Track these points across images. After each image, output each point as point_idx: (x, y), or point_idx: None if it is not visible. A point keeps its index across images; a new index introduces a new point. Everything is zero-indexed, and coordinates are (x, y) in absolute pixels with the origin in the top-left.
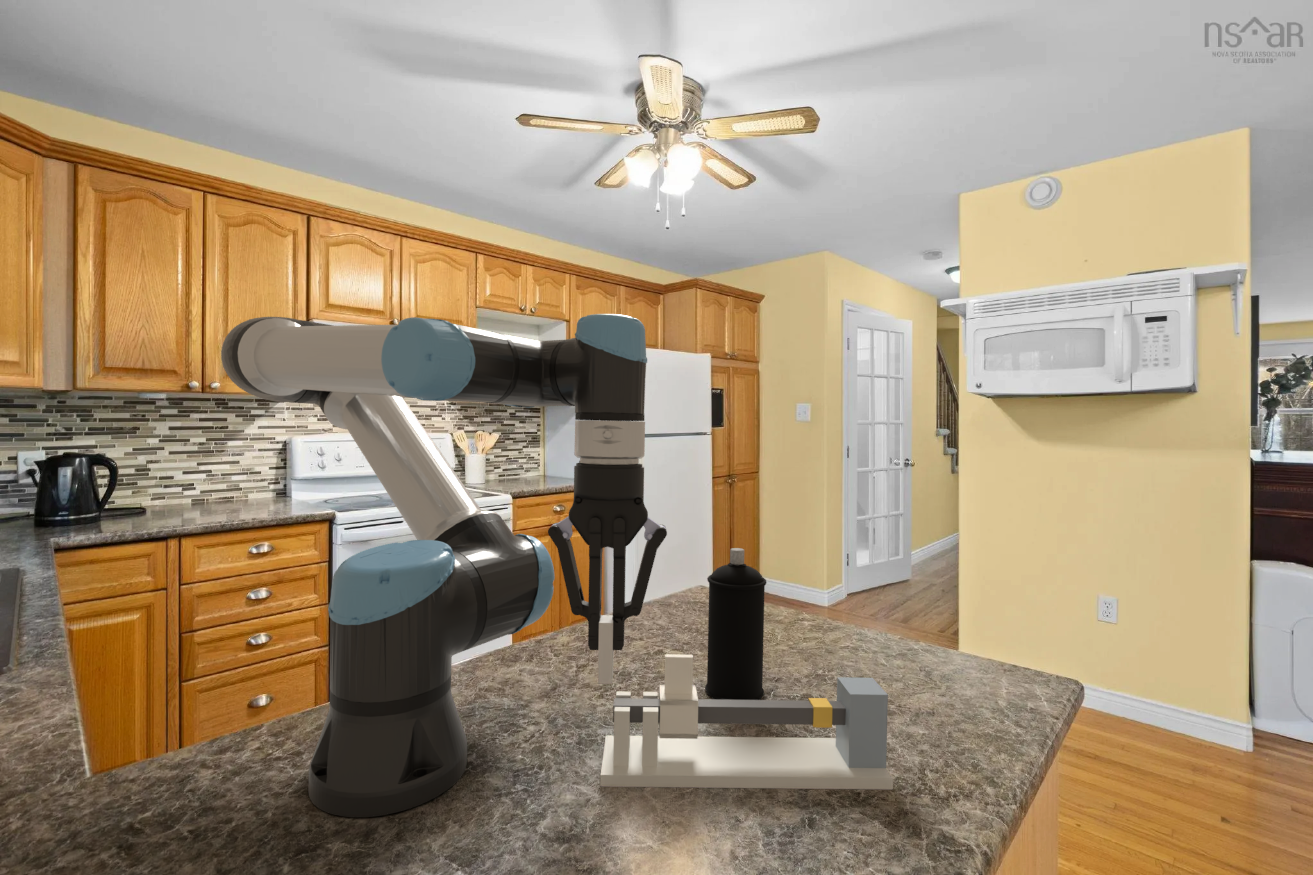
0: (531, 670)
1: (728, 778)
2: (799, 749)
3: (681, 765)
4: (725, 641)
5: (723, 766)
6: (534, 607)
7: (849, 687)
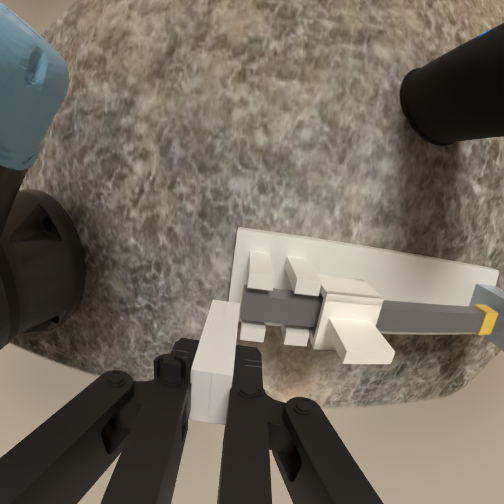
0: (144, 4)
1: None
2: (448, 287)
3: None
4: (472, 119)
5: None
6: (21, 167)
7: None
